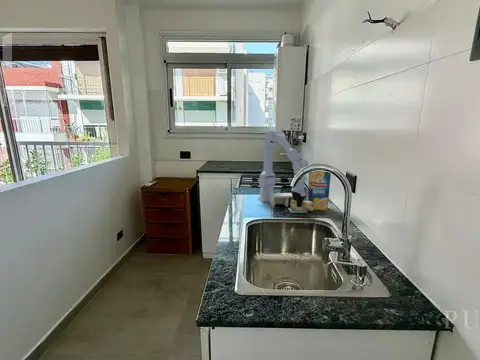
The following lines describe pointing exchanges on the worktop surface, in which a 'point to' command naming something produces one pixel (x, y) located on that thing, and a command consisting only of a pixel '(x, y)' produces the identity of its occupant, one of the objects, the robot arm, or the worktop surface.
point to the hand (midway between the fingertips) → (297, 205)
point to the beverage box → (319, 189)
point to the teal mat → (296, 211)
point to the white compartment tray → (280, 198)
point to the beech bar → (305, 205)
